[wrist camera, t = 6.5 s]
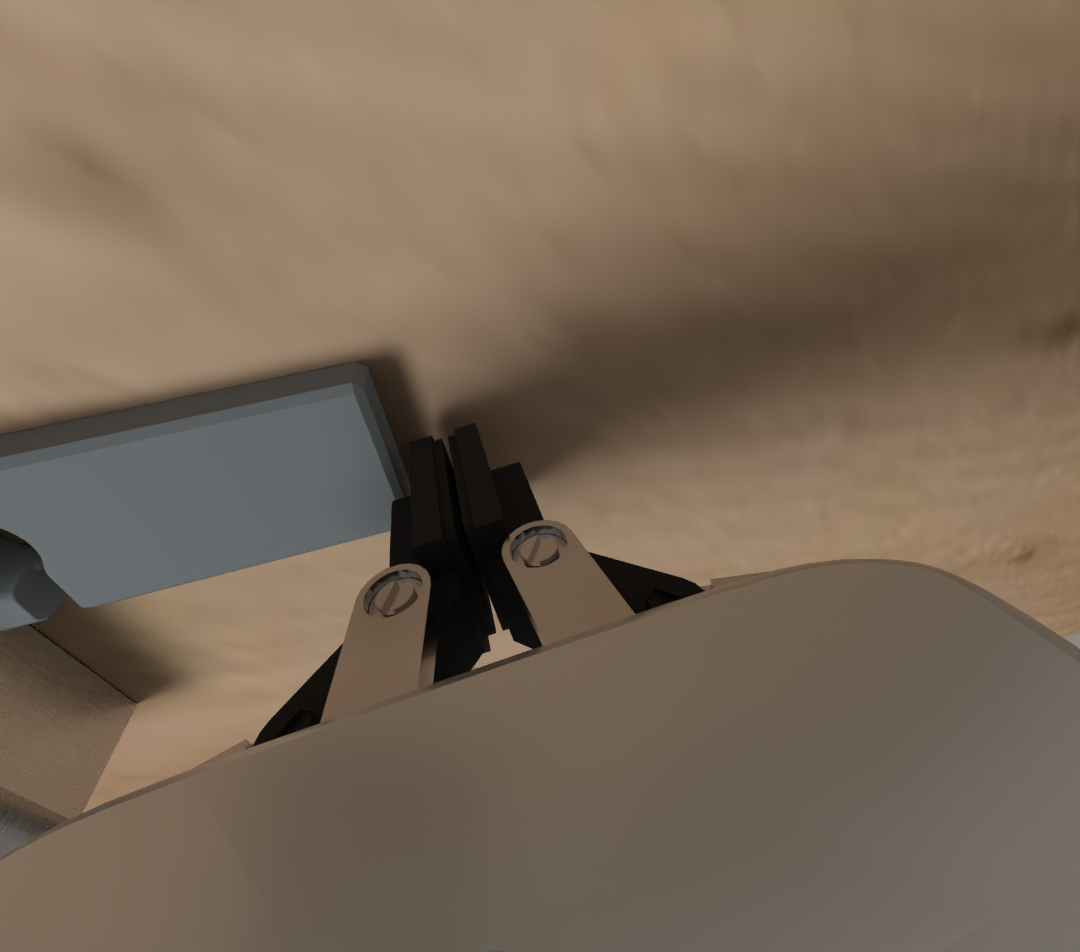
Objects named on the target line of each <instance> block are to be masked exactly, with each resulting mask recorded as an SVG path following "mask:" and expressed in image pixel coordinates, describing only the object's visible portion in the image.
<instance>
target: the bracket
mask: <svg viewBox="0 0 1080 952" xmlns="http://www.w3.org/2000/svg"><path fill="white" fill-rule="evenodd" d="M410 495H411V485H410V482H409V479H408V476H407V474H406V471H405V468H404V465H403V462H402V460H401V457H400V454H399V451H398V449H397V446H396V443H395V440H394V437H393V435H392V432H391V429H390V426H389V424H388V421H387V418H386V415H385V412H384V410H383V407H382V404H381V401H380V399H379V396H378V393H377V390H376V387H375V385H374V382H373V379H372V376H371V374H370V371H369V368H368V367H367V366H365V365H363V364H361V363H360V362H358V361H356V362H351V363H346V364H341V365H336V366H331V367H327V368H322V369H317V370H312V371H307V372H302V373H298V374H293V375H288V376H283V377H278V378H274V379H269V380H264V381H259V382H254V383H249V384H245V385H240V386H235V387H230V388H225V389H221V390H216V391H211V392H206V393H201V394H196V395H192V396H187V397H182V398H177V399H172V400H168V401H163V402H158V403H153V404H148V405H143V406H139V407H134V408H129V409H124V410H119V411H115V412H110V413H105V414H100V415H95V416H90V417H86V418H81V419H76V420H71V421H66V422H62V423H57V424H52V425H47V426H42V427H37V428H33V429H28V430H23V431H18V432H13V433H9V434H4V435H0V528H1V529H4V530H6V531H8V532H11V533H13V534H15V535H17V536H18V537H20V538H22V539H23V540H25V541H26V542H28V543H29V544H30V545H31V546H30V545H24V544H19V543H15V542H12V541H9V540H7V539H4V538H2V537H0V632H1V631H4V630H8V629H12V628H16V627H20V626H24V625H28V624H32V623H35V622H39V621H43V620H47V619H48V618H49V617H50V616H51V615H52V613H53V612H54V611H55V610H56V609H57V608H58V606H59V605H60V604H61V603H62V602H63V601H64V600H65V598H66V597H67V596H68V595H69V596H70V597H71V598H72V599H73V600H74V601H75V602H76V603H77V604H79V605H80V606H81V607H82V608H87V607H97V606H101V605H105V604H109V603H113V602H117V601H121V600H124V599H128V598H132V597H136V596H140V595H144V594H148V593H152V592H155V591H159V590H163V589H167V588H171V587H175V586H179V585H183V584H186V583H190V582H194V581H198V580H202V579H206V578H210V577H213V576H217V575H221V574H225V573H229V572H233V571H237V570H241V569H244V568H248V567H252V566H256V565H260V564H264V563H268V562H272V561H275V560H279V559H283V558H287V557H291V556H295V555H299V554H303V553H306V552H310V551H314V550H318V549H322V548H326V547H330V546H334V545H337V544H341V543H345V542H349V541H353V540H357V539H361V538H365V537H368V536H372V535H376V534H380V533H384V532H388V531H391V509H392V501H394V500H396V499H400V498H403V497H406V496H410Z"/></svg>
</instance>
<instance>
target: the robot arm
mask: <svg viewBox="0 0 1080 952" xmlns="http://www.w3.org/2000/svg"><path fill="white" fill-rule="evenodd" d="M455 434H456V435H453V436H449V437H448V440H449V446H450V452H451V458H452V463H453V467H452V464H451V462H450V459H449V456H448V454H447V451H446V448H445V446H444V443H443V441H442V439H439V440H436V441H434V439H433V437H432V436H429V437H426V438H422V439H419V440H415V441H412V442H410V484H411V495H410V496H406V497H403V498H400V499H396V500H394V501H392V509H391V538H390V567H389V568H387V569H385V570H384V571H382V572H380V573H378V574H377V575H375V576H374V577H373V578H372V579H370V580H369V581H368V582H367V583H366V584H365V586H364V587H363V588H362V589H361V590H360V592H359V595H358V597H357V599H356V601H355V605H354V608H353V612H352V615H351V618H350V622H349V625H348V629H347V632H346V636H345V639H344V642H343V644H342V645H341V646H340V647H339V648H338V649H337V650H336V651H335V652H334V653H333V654H332V655H331V656H330V657H329V658H328V660H327V661H326V662H325V663H324V664H323V665H322V666H321V667H320V668H319V669H318V670H317V671H316V672H315V673H314V674H313V675H312V676H311V677H310V678H309V679H308V681H307V682H306V683H305V684H304V685H303V686H302V687H301V688H300V689H299V690H298V691H297V692H296V693H295V694H294V695H293V696H292V697H291V698H290V699H289V700H288V702H287V703H286V704H285V705H284V706H283V707H282V708H281V709H280V710H279V711H278V712H277V713H276V714H275V715H274V716H273V717H272V718H271V719H270V721H269V722H268V723H267V724H266V726H265V727H264V728H263V729H262V731H261V732H260V733H259V735H258V737H257V739H256V741H255V742H254V743H252V744H251V743H250V742H249V741H247V740H246V739H245V740H244V741H242V742H240V743H238V744H236V745H235V746H233V747H231V748H229V749H227V750H225V751H224V752H222V753H220V754H218V755H216V756H215V757H213V758H211V759H209V760H207V761H205V762H204V763H202V764H200V765H198V766H196V767H195V768H193V769H191V770H189V771H186V772H183V773H180V774H178V775H175V776H172V777H170V778H167V779H164V780H162V781H159V782H156V783H154V784H151V785H149V786H146V787H144V788H141V789H139V790H136V791H134V792H131V793H129V794H126V795H124V796H121V797H119V798H116V799H114V800H111V801H109V802H106V803H104V804H102V805H100V806H97V807H95V808H93V809H91V810H89V811H87V812H85V813H82V814H80V815H78V816H76V817H74V818H72V819H70V820H68V821H65V822H63V823H61V824H59V825H57V826H55V827H53V828H51V829H50V830H48V831H46V832H44V833H42V834H41V835H39V836H37V837H35V838H33V839H31V840H30V841H28V842H26V843H24V844H22V845H21V846H19V847H17V848H15V849H13V850H12V851H10V852H9V853H7V854H6V855H4V856H3V857H1V858H0V952H1080V649H1079V648H1078V647H1076V646H1075V645H1073V644H1072V643H1070V642H1069V641H1067V640H1066V639H1064V638H1063V637H1061V636H1060V635H1058V634H1056V633H1055V632H1053V631H1052V630H1050V629H1049V628H1047V627H1046V626H1044V625H1043V624H1041V623H1040V622H1038V621H1036V620H1035V619H1033V618H1032V617H1030V616H1029V615H1027V614H1025V613H1024V612H1022V611H1020V610H1019V609H1017V608H1015V607H1014V606H1012V605H1010V604H1009V603H1007V602H1005V601H1004V600H1002V599H1000V598H999V597H997V596H995V595H994V594H992V593H990V592H988V591H987V590H985V589H983V588H981V587H979V586H977V585H975V584H973V583H971V582H969V581H967V580H965V579H963V578H961V577H959V576H957V575H955V574H952V573H950V572H947V571H945V570H942V569H940V568H936V567H933V566H929V565H925V564H921V563H916V562H909V561H901V560H890V559H841V560H832V561H823V562H815V563H807V564H802V565H797V566H793V567H788V568H783V569H778V570H774V571H770V572H762V573H754V574H747V575H739V576H732V577H724V578H717V579H711V583H710V585H708V586H701V587H699V586H698V585H697V584H695V583H693V582H691V581H688V580H686V579H684V578H680V577H677V576H673V575H669V574H666V573H662V572H659V571H655V570H651V569H648V568H644V567H641V566H637V565H633V564H630V563H626V562H623V561H619V560H615V559H612V558H608V557H605V556H601V555H597V554H594V553H590V552H588V551H587V550H586V549H585V548H584V546H583V545H582V544H581V542H580V541H579V540H578V538H577V537H576V536H575V534H574V533H573V532H572V531H571V530H570V529H569V528H568V527H567V526H566V525H564V524H562V523H559V522H557V521H550V520H544V519H543V517H542V515H541V512H540V510H539V507H538V505H537V502H536V500H535V498H534V495H533V493H532V490H531V488H530V486H529V483H528V481H527V478H526V476H525V473H524V471H523V469H522V466H521V464H520V462H518V463H514V464H511V465H508V466H505V467H501V468H498V469H495V470H491V471H490V468H489V464H488V461H487V458H486V455H485V452H484V448H483V445H482V442H481V439H480V436H479V433H478V429H477V426H476V423H473V424H470V425H466V426H463V427H460V428H456V429H455ZM453 469H454V470H453ZM488 594H489V595H488ZM489 596H490V599H491V601H492V604H493V606H494V609H495V611H496V614H497V617H498V619H499V622H500V624H501V627H502V629H503V630H506V629H509V630H510V632H511V635H512V638H513V640H514V641H516V642H518V643H520V644H523V645H525V646H527V647H530V648H532V650H529V651H526V652H523V653H520V654H518V655H515V656H512V657H509V658H506V659H503V660H500V661H497V662H494V663H491V664H489V665H486V666H483V667H480V668H477V669H475V667H474V665H475V664H476V662H477V661H478V659H479V658H480V656H481V655H482V654H483V653H486V652H489V651H491V649H490V644H489V639H488V636H489V635H492V634H495V633H496V629H495V624H494V619H493V614H492V609H491V604H490V599H489Z"/></svg>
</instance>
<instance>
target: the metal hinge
mask: <svg viewBox="0 0 1080 952" xmlns="http://www.w3.org/2000/svg"><path fill="white" fill-rule="evenodd" d="M136 706H137V704H136V703H134V702H133V701H131V700H130V699H129V698H127V697H126V696H125V695H123V694H122V693H121V692H119V691H118V690H116V689H115V688H114V687H112V686H111V685H110V684H108V683H107V682H106V681H104V680H103V679H101V678H100V677H99V676H97V675H96V674H95V673H93V672H92V671H91V670H89V669H88V668H87V667H85V666H84V665H82V664H81V663H80V662H78V661H77V660H76V659H74V658H73V657H72V656H70V655H69V654H67V653H66V652H65V651H63V650H62V649H61V648H59V647H58V646H57V645H55V644H54V643H53V642H51V641H50V640H48V639H47V638H46V637H44V636H43V635H42V634H40V633H39V632H38V631H36V630H35V629H33V628H32V627H31V626H29V625H24V626H20V627H16V628H12V629H8V630H4V631H1V632H0V858H1V857H3V856H4V855H6V854H7V853H9V852H10V851H12V850H13V849H15V848H17V847H19V846H21V845H22V844H24V843H26V842H28V841H30V840H31V839H33V838H35V837H37V836H39V835H41V834H42V833H44V832H46V831H48V830H50V829H51V828H53V827H55V826H57V825H59V824H61V823H63V822H65V821H68V820H70V819H72V818H74V817H76V816H78V815H80V814H82V813H83V811H84V809H85V807H86V805H87V803H88V801H89V799H90V797H91V795H92V793H93V791H94V789H95V787H96V785H97V783H98V781H99V779H100V777H101V775H102V773H103V771H104V769H105V767H106V765H107V763H108V761H109V759H110V757H111V755H112V753H113V751H114V749H115V747H116V745H117V743H118V741H119V739H120V737H121V735H122V733H123V732H124V730H125V728H126V726H127V724H128V722H129V720H130V718H131V716H132V714H133V712H134V710H135V708H136Z"/></svg>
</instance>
